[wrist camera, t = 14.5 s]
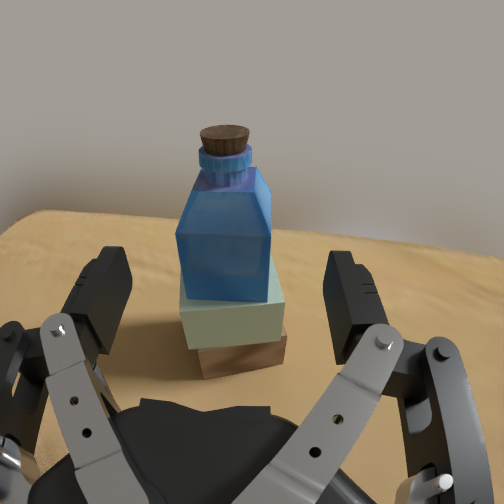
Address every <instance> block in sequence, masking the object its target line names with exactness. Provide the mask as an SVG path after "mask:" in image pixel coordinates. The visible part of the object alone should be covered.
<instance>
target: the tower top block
mask: <svg viewBox="0 0 504 504" xmlns="http://www.w3.org/2000/svg"><path fill="white" fill-rule="evenodd" d="M284 307H285V300H284V297H283V293H282V290H281V286H280V283H279V280H278V276H277V273H276V269H275V266H274V263H273V259H272V256H271V252H270V267H269V285H268V302H267V303H265V302H236V301H213V300H194V299H187V297H186V292H185V286H184V281H183V276H182V270H181V278H180V305H179V313H180V317H181V321H182V325H183V329H184V333H185V337H186V341H187V345H188V349H189V350H190V349H204V348H217V347H228V346H239V345H248V344H258V343H266V342H275V341H281V332H282V324H283V316H284Z"/></svg>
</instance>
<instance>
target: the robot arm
mask: <svg viewBox="0 0 504 504" xmlns="http://www.w3.org/2000/svg"><path fill="white" fill-rule="evenodd" d="M131 289H132V275H131V271H130V268H129V264H128V261H127V257H126V254H125V251H124V248H123V247H119V246H105V247H103V249H102V250H101V252H100V254H99V256H98V258H97V259H92V260H91V261H90V262H89V263H88V264H87V265H86V266H85V267H84V268H83V270H82V272H81V273H80V275H79V278H78V279H77V281H76V283H75V286H73V288H72V290H71V292H70V294H69V296H68V298H67V300H66V302H65V304H64V306H63V308H62V310H61V312H60V313H57V314H54V315H51V316H50V317H48V318H47V319H46V320H45V321H44V322H43V324H42V326H41V327H39V328H34V329H28V330H25V329H24V328H23V326H22V325H21V324H20V323H19V322H17V321H10V322H8V323H6V324H4V325H3V326H2V327H1V328H0V503H3V504H377V503H376V502H375V501H373V500H372V499H371V498H370V497H369V496H368V495H367V494H366V493H365V492H364V491H363V490H362V489H361V488H360V487H359V486H358V485H357V484H356V483H355V482H353V481H352V480H351V479H350V478H349V477H348V476H347V475H346V474H345V473H344V472H343V471H342V470H341V469H340V468H339V467H340V466H341V464H342V463H343V461H344V460H345V458H346V457H347V455H348V454H349V452H350V450H351V449H352V447H353V446H354V444H355V442H356V441H357V439H358V438H359V436H360V434H361V432H362V431H363V429H364V427H365V426H366V424H367V422H368V420H369V419H370V417H371V415H372V413H373V412H374V410H375V408H376V406H377V404H378V402H379V400H380V398H381V395H386V396H391V397H396V398H397V401H398V407H399V413H400V419H401V425H402V432H403V439H404V447H405V455H406V463H407V472H408V478H407V479H406V480H404V481H403V482H402V483H401V484H400V486H399V487H398V489H397V492H396V499H395V504H494V496H493V488H492V481H491V474H490V468H489V462H488V457H487V452H486V447H485V442H484V437H483V433H482V428H481V424H480V420H479V416H478V412H477V408H476V405H475V401H474V397H473V394H472V391H471V387H470V384H469V381H468V377H467V374H466V371H465V368H464V365H463V362H462V359H461V356H460V353H459V350H458V348H457V347H456V345H455V344H454V343H453V342H452V341H450V340H449V339H447V338H444V337H434V338H432V339H430V340H429V341H428V342H427V344H426V345H424V344H420V343H415V342H410V341H407V340H404V339H403V338H402V336H401V334H400V333H399V332H398V331H397V330H396V329H395V328H393V327H392V326H390V325H389V323H388V320H387V317H386V314H385V311H384V308H383V305H382V303H381V300H380V297H379V294H378V291H377V289H376V286H375V283H374V280H373V278H372V275H371V273H370V272H369V271H368V270H367V269H366V268H365V267H364V266H363V264H355V263H354V260H353V257H352V254H351V252H350V251H330V253H329V257H328V262H327V266H326V271H325V276H324V280H323V296H324V301H325V306H326V311H327V316H328V322H329V327H330V332H331V338H332V343H333V349H334V354H335V360H336V365H342V364H345V365H344V367H343V368H342V370H341V371H340V373H338V374H337V375H336V376H335V377H334V379H333V380H332V382H331V383H330V385H329V386H328V388H327V389H326V390H325V392H324V393H323V395H322V396H321V398H320V399H319V400H318V402H317V403H316V405H315V406H314V407H313V409H312V410H311V411H310V413H309V414H308V415H307V417H306V418H305V419H304V421H303V422H302V423H301V425H300V426H299V427H298V426H297V425H296V424H294V423H292V422H291V421H289V420H287V419H285V418H282V417H279V416H276V415H272V414H270V406H234V407H229V408H224V409H218V410H213V411H207V412H201V411H198V410H194V409H191V408H188V407H185V406H182V405H179V404H177V403H174V402H171V401H161V400H153V399H145V398H141V400H140V405H139V406H136V407H132V408H128V409H126V410H123V411H121V409H120V408H119V406H118V405H117V403H116V401H115V399H114V398H113V395H112V393H111V391H110V389H109V387H108V385H107V382H106V380H105V378H104V376H103V373H102V371H101V369H100V366H99V364H98V362H97V357H98V354H106V355H109V352H110V349H111V346H112V343H113V340H114V337H115V334H116V331H117V329H118V326H119V323H120V320H121V317H122V314H123V311H124V309H125V306H126V303H127V301H128V298H129V295H130V292H131ZM18 371H19V372H20V373H21V375H20V378H19V381H18V384H17V387H16V390H15V393H14V396H13V397H12V387H13V384H14V381H15V379H16V376H17V373H18ZM48 394H49V395H50V399H51V402H52V405H53V408H54V412H55V415H56V418H57V421H58V424H59V426H60V429H61V432H62V435H63V438H64V440H65V443H66V445H67V448H68V451H69V453H68V454H67V455H66V456H65V457H64V458H62V459H61V460H60V461H59V462H57V463H56V464H55V465H54V466H53V467H51V468H50V469H49V470H48V471H47V472H45V473H44V474H43V475H42V476H41V477H40V475H41V473H40V470H39V468H38V466H37V462H36V459H35V458H34V451H35V447H36V442H37V437H38V433H39V429H40V425H41V420H42V416H43V413H44V409H45V405H46V401H47V398H48Z"/></svg>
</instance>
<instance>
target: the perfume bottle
mask: <svg viewBox="0 0 504 504" xmlns="http://www.w3.org/2000/svg"><path fill="white" fill-rule="evenodd" d="M249 132H250V131H249V129H247V128H246V127H242V126H237V125H218V126H212V127H208V128H205V129H203V130H202V131H200V136H201V140H202V143H203V146H202V147H201V148H200V149H199V164H200V166H201V170H200V173H199V175H198V177H197V179H196V182H195V184H194V186H193V189H192V191H191V193H190V196H189V198H188V201H187V203H186V206H185V209H184V211H183V214H182V216H181V219H180V222H179V224H178V227H177V230H176V232H175V235H176V241H177V247H178V253H179V259H180V265H181V270H182V276H183V281H184V286H185V292H186V297H187V299H194V300H213V301H236V302H265V303H267V302H268V285H269V267H270V248H271V196H270V195H271V191H270V189H269V187H268V185H267V184H266V182H265V180H264V179H263V177H262V175H261V173H260V172H259V170H258V168H257V167H249V166H250V165H251V163H252V148H251V146H249V145H248V144H247V141H248V137H249Z"/></svg>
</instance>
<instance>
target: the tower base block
mask: <svg viewBox="0 0 504 504" xmlns="http://www.w3.org/2000/svg"><path fill="white" fill-rule="evenodd" d="M286 340H287V333H286V331H285V328H284V326H283V324H282V332H281V341H275V342H266V343H258V344H248V345H239V346H228V347H217V348H204V349H197V352H198V356H199V360H200V365H201V369H202V373H203V377H204V380H205V379H211V378H217V377H222V376H228V375H233V374H238V373H243V372H248V371H253V370H258V369H262V368H267V367H271V366H275V365H280V364H283V360H284V354H285V347H286Z"/></svg>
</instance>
